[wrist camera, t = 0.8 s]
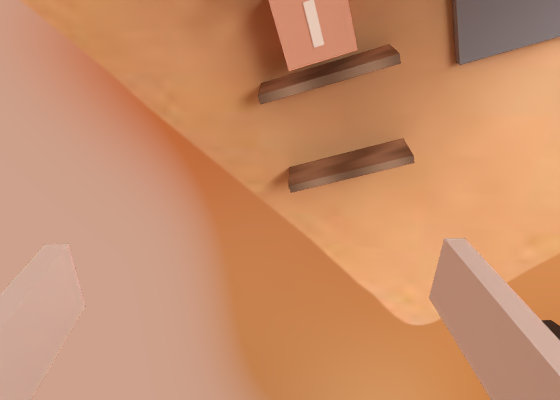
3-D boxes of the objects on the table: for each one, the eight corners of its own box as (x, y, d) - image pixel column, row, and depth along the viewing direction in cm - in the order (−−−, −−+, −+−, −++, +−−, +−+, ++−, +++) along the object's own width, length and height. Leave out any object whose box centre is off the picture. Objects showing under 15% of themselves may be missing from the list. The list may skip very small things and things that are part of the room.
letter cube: (335, -32, 31) (342, -31, 26) (349, 38, 33) (357, 50, 29) (271, -9, 32) (267, -4, 27) (290, 56, 35) (288, 71, 30)
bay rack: (345, -251, 24) (353, -286, 21) (404, 145, 38) (414, 162, 35) (177, -173, 27) (159, -193, 23) (291, 173, 41) (290, 192, 37)
